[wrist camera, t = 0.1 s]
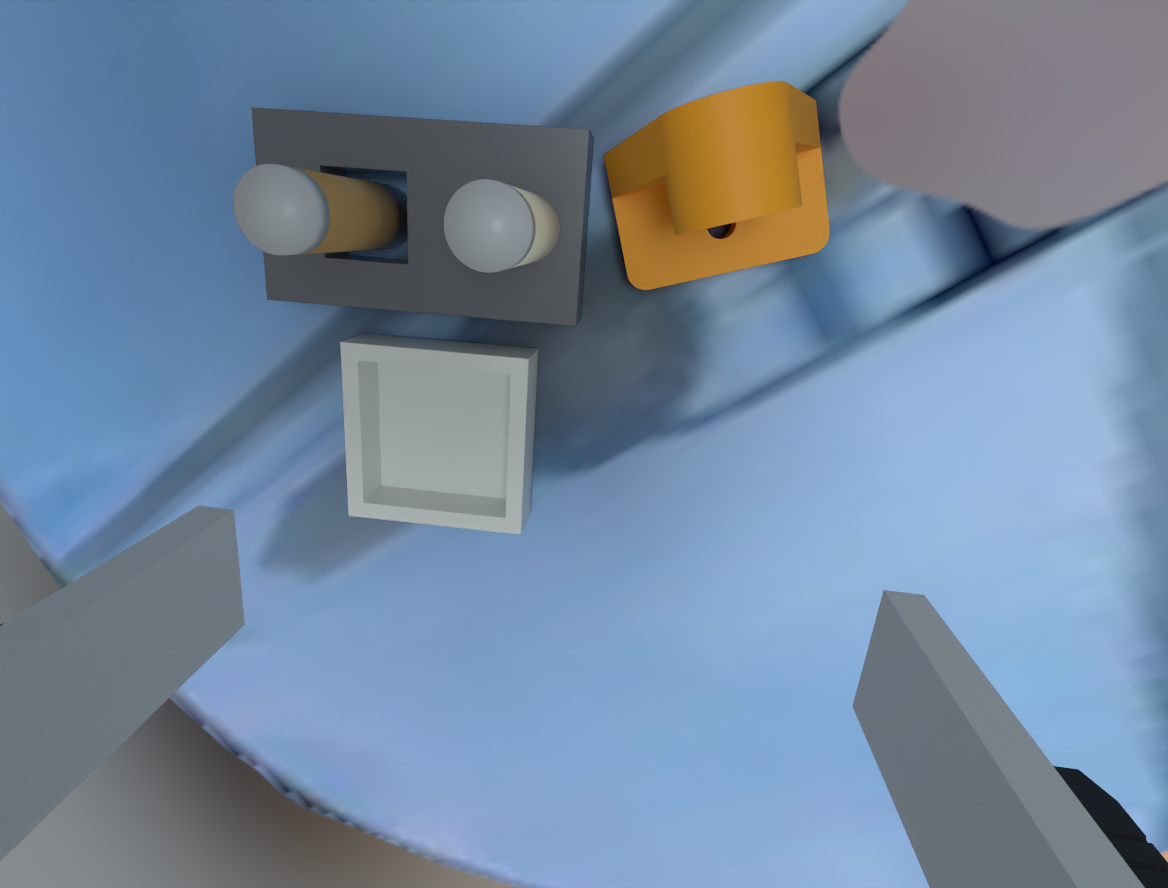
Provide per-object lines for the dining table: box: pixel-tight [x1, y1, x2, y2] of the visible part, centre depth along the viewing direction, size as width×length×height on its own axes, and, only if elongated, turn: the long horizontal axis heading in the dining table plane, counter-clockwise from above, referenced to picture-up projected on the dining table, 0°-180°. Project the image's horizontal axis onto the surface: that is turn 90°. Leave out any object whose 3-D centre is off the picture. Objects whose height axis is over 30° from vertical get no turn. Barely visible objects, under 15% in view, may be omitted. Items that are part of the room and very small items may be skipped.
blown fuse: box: [233, 164, 408, 255], centre depth 33 cm, size 4×4×12 cm
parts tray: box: [340, 333, 539, 535], centre depth 40 cm, size 11×11×4 cm
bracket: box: [604, 81, 830, 290], centre depth 31 cm, size 11×7×12 cm, turn 103°
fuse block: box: [252, 108, 594, 326], centre depth 32 cm, size 18×10×12 cm, turn 86°
